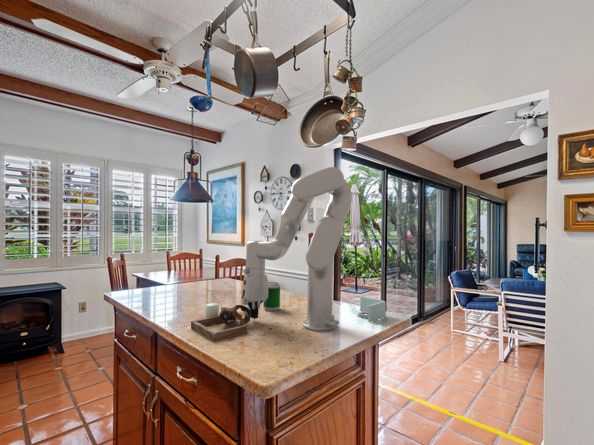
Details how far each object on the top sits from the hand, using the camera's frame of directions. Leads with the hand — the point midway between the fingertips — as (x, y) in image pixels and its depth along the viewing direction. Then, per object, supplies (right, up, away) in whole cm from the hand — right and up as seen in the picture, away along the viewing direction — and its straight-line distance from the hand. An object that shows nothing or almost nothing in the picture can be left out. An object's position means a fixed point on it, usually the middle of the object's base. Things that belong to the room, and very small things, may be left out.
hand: (254, 317), depth 121 cm
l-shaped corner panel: (+46, -3, +9) cm, 48 cm away
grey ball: (-4, -2, +9) cm, 10 cm away
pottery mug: (-7, -2, -4) cm, 8 cm away
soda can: (+5, -2, +18) cm, 19 cm away
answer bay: (-11, -1, -11) cm, 16 cm away
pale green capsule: (-17, -1, +1) cm, 17 cm away
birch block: (-11, -2, +5) cm, 13 cm away
